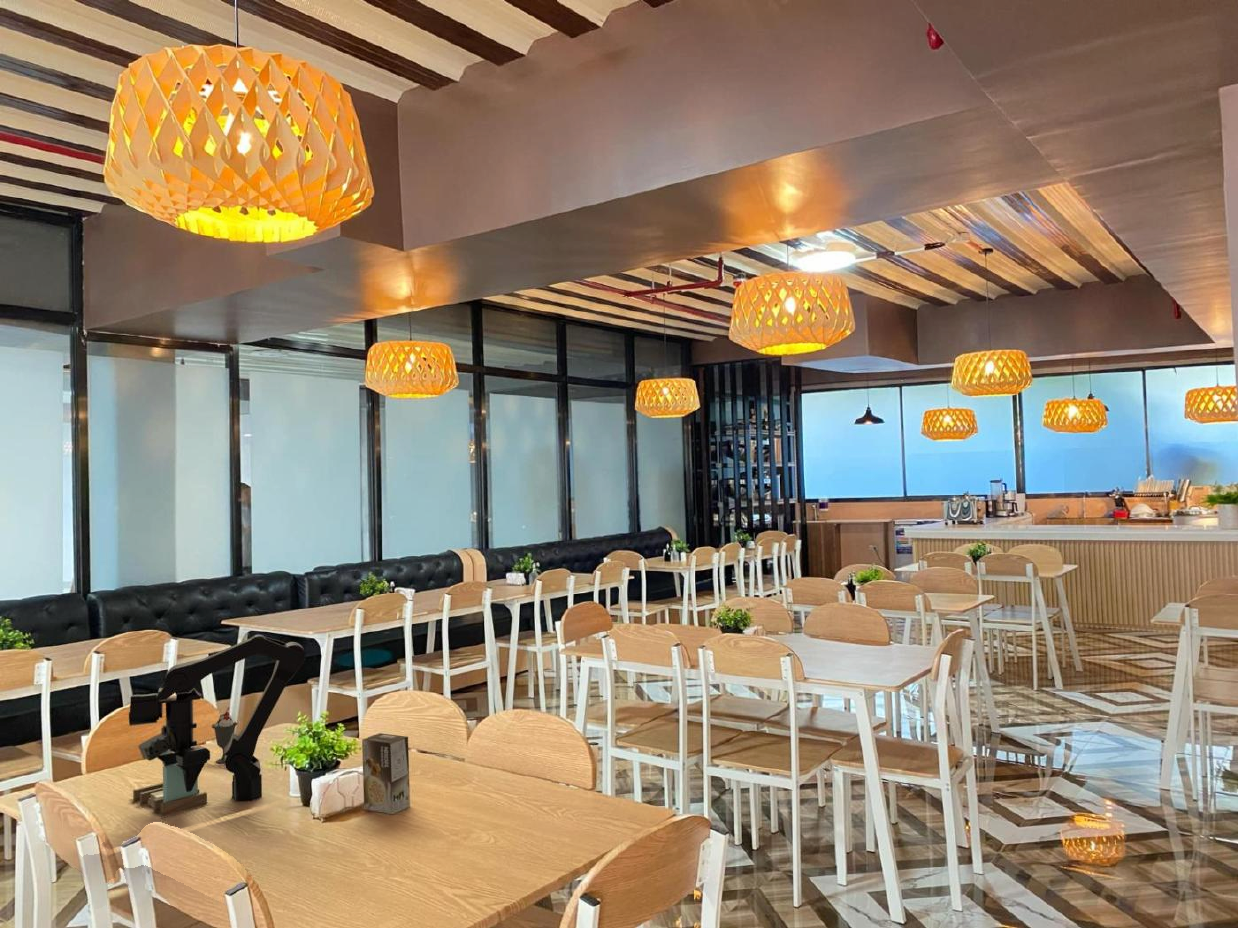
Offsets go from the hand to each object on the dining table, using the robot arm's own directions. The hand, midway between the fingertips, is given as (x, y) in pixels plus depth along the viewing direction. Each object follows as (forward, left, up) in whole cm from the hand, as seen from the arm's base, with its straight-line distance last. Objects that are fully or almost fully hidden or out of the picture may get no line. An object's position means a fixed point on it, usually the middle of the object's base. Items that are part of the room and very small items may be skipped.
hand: (180, 787), depth 208 cm
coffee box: (-44, -20, -6) cm, 49 cm away
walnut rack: (+6, -1, -6) cm, 8 cm away
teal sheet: (0, 0, -4) cm, 4 cm away
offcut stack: (+6, -1, -4) cm, 8 cm away
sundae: (+25, -33, -6) cm, 42 cm away
